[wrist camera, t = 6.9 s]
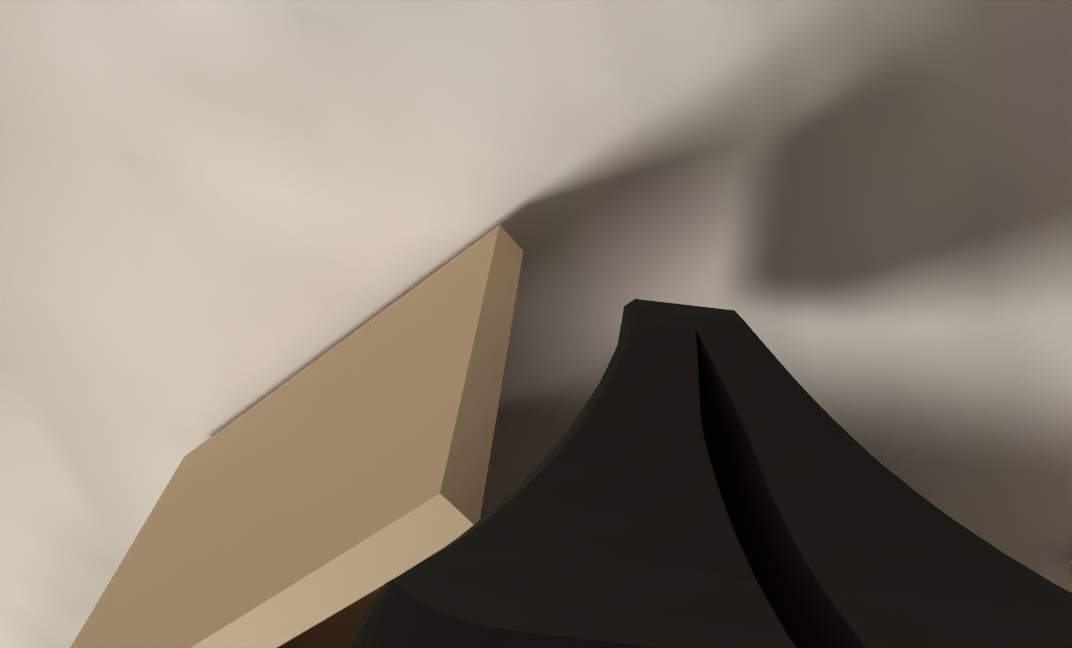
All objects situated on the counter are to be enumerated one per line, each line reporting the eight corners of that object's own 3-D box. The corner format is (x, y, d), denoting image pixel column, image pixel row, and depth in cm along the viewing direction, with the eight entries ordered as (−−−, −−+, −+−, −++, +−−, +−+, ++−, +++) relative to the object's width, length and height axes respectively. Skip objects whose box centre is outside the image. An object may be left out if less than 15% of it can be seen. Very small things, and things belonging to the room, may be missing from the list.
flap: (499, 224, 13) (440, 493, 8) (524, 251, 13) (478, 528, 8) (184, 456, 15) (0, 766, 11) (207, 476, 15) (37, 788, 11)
